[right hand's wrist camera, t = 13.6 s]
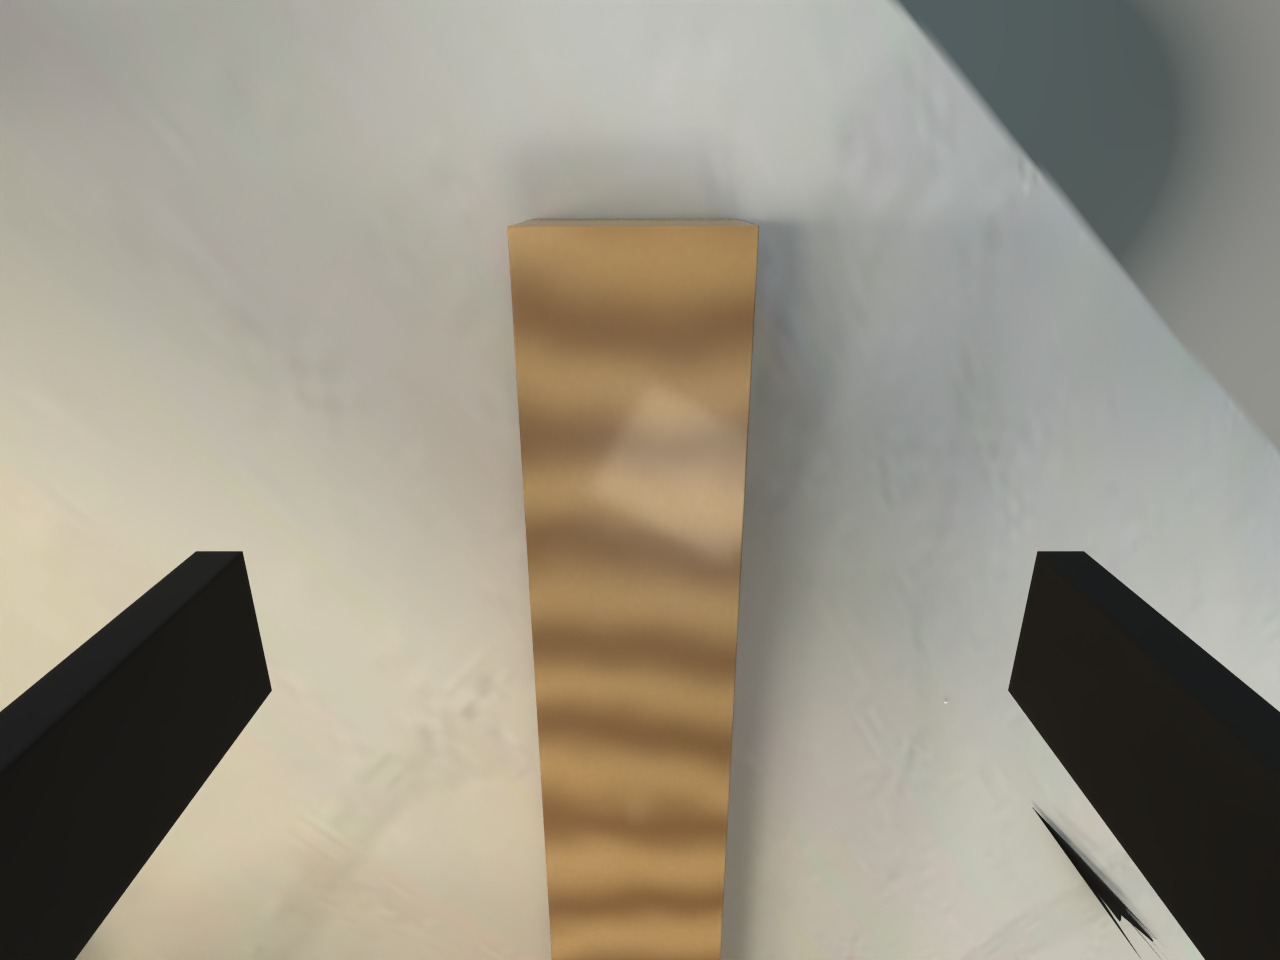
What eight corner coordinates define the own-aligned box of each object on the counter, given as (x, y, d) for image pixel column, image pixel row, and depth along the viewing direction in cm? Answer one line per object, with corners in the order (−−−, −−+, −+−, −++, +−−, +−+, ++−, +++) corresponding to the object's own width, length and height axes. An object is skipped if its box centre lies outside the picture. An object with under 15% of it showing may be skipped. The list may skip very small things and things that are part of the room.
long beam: (531, 219, 36) (507, 226, 30) (738, 219, 36) (759, 225, 30) (581, 1218, 66) (574, 1330, 60) (694, 1218, 66) (700, 1330, 60)
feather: (940, 685, 47) (964, 693, 46) (1153, 942, 54) (1181, 958, 53) (925, 707, 47) (948, 715, 45) (1141, 964, 54) (1169, 980, 52)
